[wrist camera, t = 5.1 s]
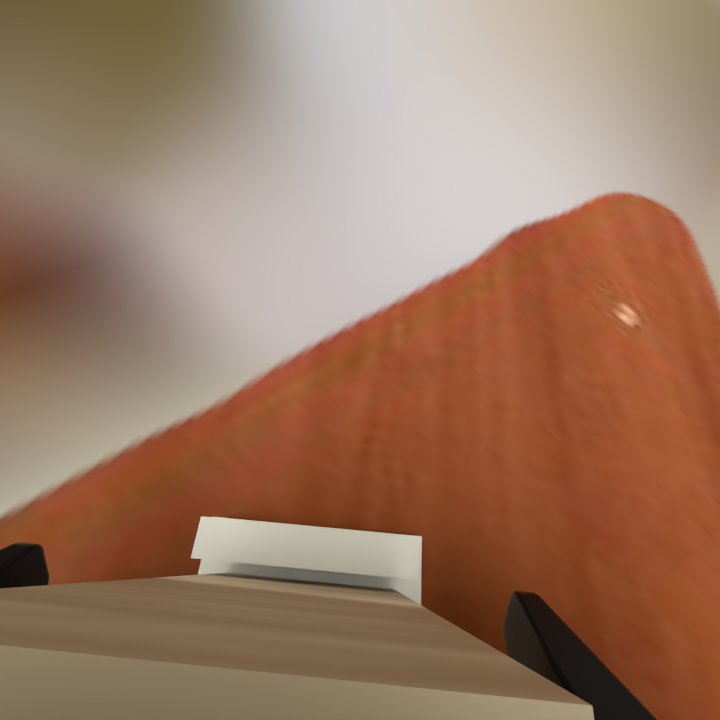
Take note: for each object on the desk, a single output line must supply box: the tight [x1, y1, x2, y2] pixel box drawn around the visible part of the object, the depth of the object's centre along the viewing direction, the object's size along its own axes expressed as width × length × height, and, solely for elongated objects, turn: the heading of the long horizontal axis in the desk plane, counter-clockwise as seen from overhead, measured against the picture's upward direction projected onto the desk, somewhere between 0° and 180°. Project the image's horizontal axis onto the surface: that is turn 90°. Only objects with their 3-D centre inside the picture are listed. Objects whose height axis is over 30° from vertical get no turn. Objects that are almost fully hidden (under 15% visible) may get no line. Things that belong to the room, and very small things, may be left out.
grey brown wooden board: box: [0, 573, 594, 720], centre depth 8 cm, size 2×6×13 cm, turn 85°
